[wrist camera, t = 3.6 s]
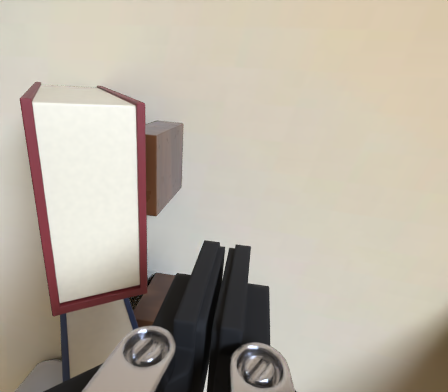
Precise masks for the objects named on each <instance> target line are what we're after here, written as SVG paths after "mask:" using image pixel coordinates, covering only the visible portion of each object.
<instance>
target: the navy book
mask: <svg viewBox="0 0 448 392" xmlns="http://www.w3.org/2000/svg"><path fill="white" fill-rule="evenodd" d="M60 324H61V351H62V378H63V382H64V381H67V380H69V379H71V378H73V377H75V376H77V375H79V374H81V373H83V372H85V371H88V370H90V369H92V368H94V367H96V366H98V365H100V364H102V363H104V362H105V360H106V359H107V358H108V357H109V355H110V354H111V353H112V351H113V350H114V349H115V347H116V346H117V345H118V344H119V342H120V341H121V340H122V339H123V338H124V337H125V336H126V335H127V334H128V333H129V332H131V331H133V330H134V329H137V328H139V327H138V324H137V321H136V318H135V315H134V313H133V310H132V307H131V304H130V301H129V298H125V299H121V300H117V301H113V302H109V303H105V304H101V305H97V306H93V307H89V308H85V309H81V310H77V311H73V312H68V313H64V314H60Z"/></svg>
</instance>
